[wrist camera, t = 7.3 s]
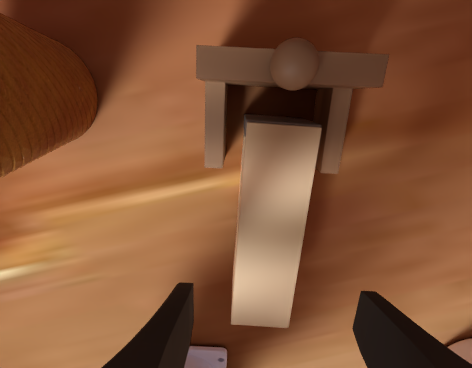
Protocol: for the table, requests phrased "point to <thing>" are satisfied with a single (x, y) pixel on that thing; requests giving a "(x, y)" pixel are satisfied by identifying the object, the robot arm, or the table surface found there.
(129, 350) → the robot arm
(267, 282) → the beige rectangular block
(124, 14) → the table surface
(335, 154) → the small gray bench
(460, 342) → the bath foam
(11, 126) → the disposable coffee cup
